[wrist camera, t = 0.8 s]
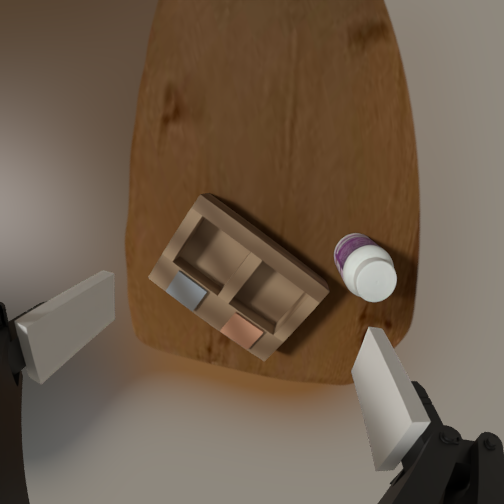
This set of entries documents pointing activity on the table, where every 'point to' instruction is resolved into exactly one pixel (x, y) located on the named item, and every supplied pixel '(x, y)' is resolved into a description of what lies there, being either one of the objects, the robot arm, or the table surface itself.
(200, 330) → the table surface
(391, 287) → the pill bottle
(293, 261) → the socket block
